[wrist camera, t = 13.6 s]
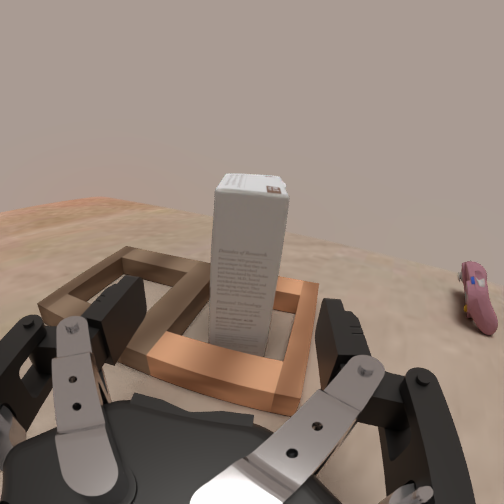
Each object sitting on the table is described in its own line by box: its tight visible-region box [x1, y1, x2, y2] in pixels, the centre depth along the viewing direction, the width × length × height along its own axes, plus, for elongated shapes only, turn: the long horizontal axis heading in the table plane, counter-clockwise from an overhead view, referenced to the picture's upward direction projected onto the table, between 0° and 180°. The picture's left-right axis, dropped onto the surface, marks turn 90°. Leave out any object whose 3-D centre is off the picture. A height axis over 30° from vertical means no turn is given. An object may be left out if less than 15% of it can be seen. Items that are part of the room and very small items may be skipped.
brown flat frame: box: [38, 246, 319, 416], centre depth 23 cm, size 22×14×2 cm, turn 75°
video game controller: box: [458, 261, 498, 335], centre depth 25 cm, size 10×5×7 cm, turn 145°
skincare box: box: [209, 174, 289, 357], centre depth 20 cm, size 6×4×12 cm
